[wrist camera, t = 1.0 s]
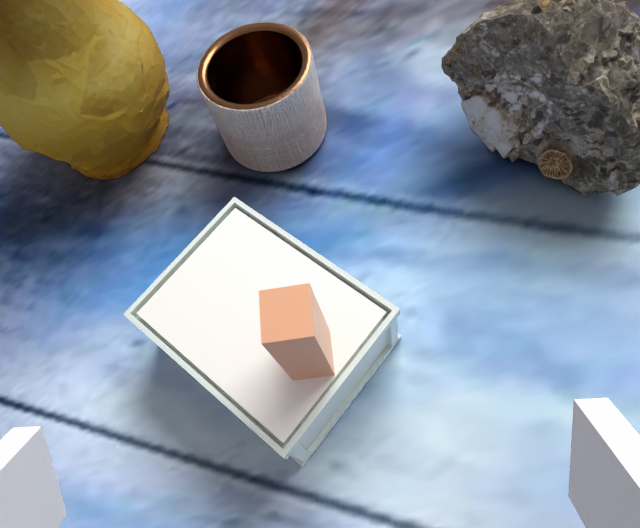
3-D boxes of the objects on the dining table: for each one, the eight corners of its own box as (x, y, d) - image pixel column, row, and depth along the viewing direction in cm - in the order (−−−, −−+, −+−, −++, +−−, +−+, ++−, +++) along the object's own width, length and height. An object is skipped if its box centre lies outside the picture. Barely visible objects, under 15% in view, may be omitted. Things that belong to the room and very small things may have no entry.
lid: (386, 315, 39) (380, 258, 30) (285, 444, 36) (246, 422, 28) (238, 212, 45) (196, 139, 36) (141, 316, 42) (70, 264, 33)
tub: (401, 338, 44) (399, 309, 38) (302, 466, 41) (283, 458, 35) (255, 235, 51) (234, 196, 45) (160, 340, 48) (123, 314, 41)
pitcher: (8, 172, 59) (-218, -49, 37) (104, 58, 66) (-36, -185, 44) (132, 220, 54) (-39, 0, 32) (222, 92, 61) (132, -162, 39)
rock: (494, 28, 35) (662, -126, 35) (412, 59, 49) (533, -51, 49) (624, 229, 41) (770, 97, 40) (518, 206, 54) (627, 107, 54)
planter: (316, 180, 53) (298, 115, 44) (215, 171, 55) (179, 108, 46) (336, 95, 57) (324, 21, 48) (242, 90, 59) (213, 19, 51)
